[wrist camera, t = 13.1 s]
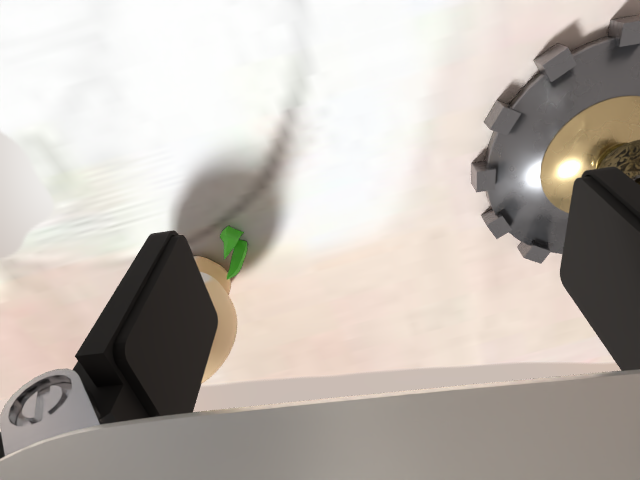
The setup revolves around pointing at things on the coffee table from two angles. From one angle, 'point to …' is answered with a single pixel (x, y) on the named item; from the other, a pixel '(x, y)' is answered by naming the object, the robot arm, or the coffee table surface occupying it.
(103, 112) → the coffee table surface
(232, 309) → the kitten
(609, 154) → the cup
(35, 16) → the coffee table surface
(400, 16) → the coffee table surface
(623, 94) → the gear
